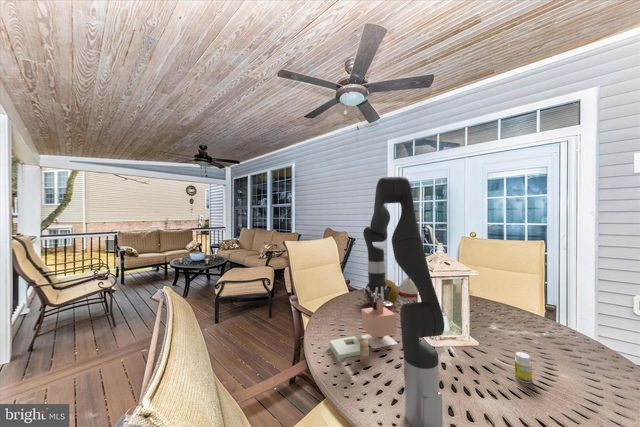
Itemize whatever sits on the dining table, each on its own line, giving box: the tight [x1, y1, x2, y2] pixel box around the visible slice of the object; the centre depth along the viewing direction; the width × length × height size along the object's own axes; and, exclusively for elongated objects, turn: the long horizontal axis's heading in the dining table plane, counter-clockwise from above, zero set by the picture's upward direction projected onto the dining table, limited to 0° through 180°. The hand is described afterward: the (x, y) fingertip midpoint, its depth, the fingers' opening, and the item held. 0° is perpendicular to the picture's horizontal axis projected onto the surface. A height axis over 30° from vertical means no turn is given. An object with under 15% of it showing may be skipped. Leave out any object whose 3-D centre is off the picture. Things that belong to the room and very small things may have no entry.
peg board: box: [329, 335, 360, 363], centre depth 111 cm, size 12×12×3 cm
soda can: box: [383, 301, 395, 313], centre depth 133 cm, size 7×7×12 cm
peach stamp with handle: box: [360, 296, 397, 338], centre depth 117 cm, size 11×11×15 cm
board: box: [360, 333, 398, 350], centre depth 117 cm, size 12×12×8 cm
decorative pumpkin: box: [364, 278, 399, 306], centre depth 163 cm, size 20×21×20 cm
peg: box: [359, 338, 370, 366], centre depth 100 cm, size 3×3×10 cm
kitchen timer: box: [398, 276, 418, 297], centre depth 184 cm, size 14×14×15 cm
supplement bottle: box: [514, 351, 533, 384], centre depth 90 cm, size 5×5×8 cm
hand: (377, 309), depth 117 cm, fingers closed on peach stamp with handle, 2 cm apart
